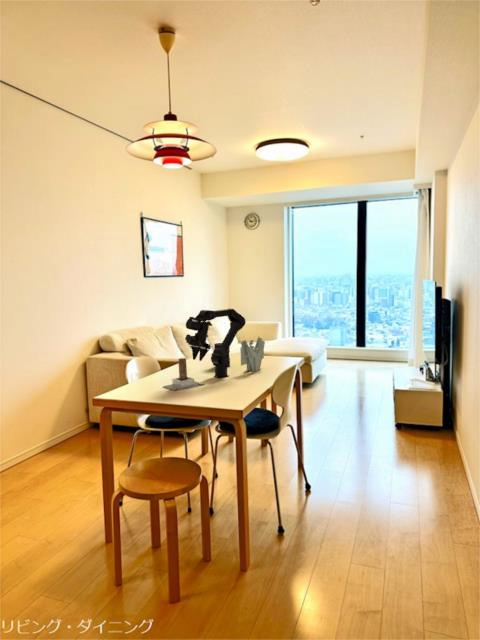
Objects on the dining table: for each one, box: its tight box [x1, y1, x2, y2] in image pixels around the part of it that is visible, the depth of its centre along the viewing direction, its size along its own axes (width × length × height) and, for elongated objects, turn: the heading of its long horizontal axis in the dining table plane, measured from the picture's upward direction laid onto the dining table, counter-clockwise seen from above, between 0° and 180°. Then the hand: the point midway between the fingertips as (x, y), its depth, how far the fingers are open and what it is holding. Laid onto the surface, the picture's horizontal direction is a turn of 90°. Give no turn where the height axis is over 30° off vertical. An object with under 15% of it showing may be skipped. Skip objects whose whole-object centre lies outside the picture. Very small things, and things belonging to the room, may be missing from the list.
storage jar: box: [213, 342, 231, 368], centre depth 285 cm, size 10×10×15 cm
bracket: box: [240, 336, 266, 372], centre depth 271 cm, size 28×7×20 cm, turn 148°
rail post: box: [177, 357, 188, 380], centre depth 235 cm, size 4×4×14 cm
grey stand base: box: [162, 376, 205, 392], centre depth 235 cm, size 18×12×4 cm, turn 131°
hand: (197, 360), depth 243 cm, fingers open, 9 cm apart
